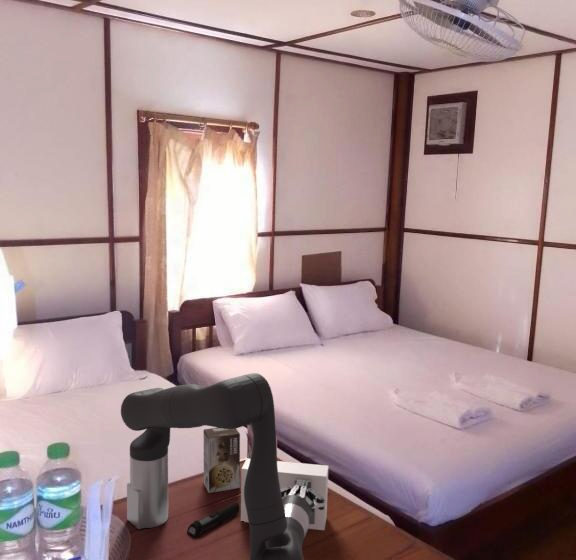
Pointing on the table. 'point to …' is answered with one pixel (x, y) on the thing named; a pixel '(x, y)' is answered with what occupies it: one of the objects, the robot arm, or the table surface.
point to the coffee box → (221, 459)
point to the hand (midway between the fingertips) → (302, 483)
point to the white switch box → (287, 478)
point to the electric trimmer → (212, 520)
